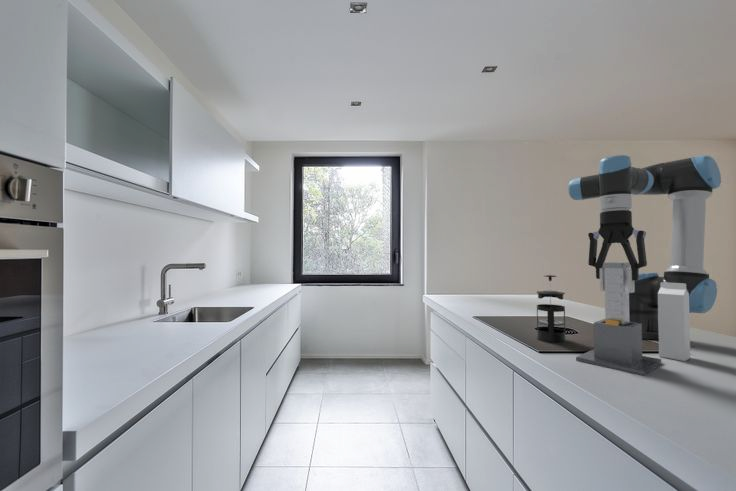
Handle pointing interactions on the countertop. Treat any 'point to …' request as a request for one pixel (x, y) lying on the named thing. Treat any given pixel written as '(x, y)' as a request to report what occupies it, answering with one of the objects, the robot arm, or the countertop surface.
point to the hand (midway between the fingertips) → (616, 291)
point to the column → (617, 292)
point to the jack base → (619, 348)
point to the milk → (674, 321)
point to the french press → (550, 317)
